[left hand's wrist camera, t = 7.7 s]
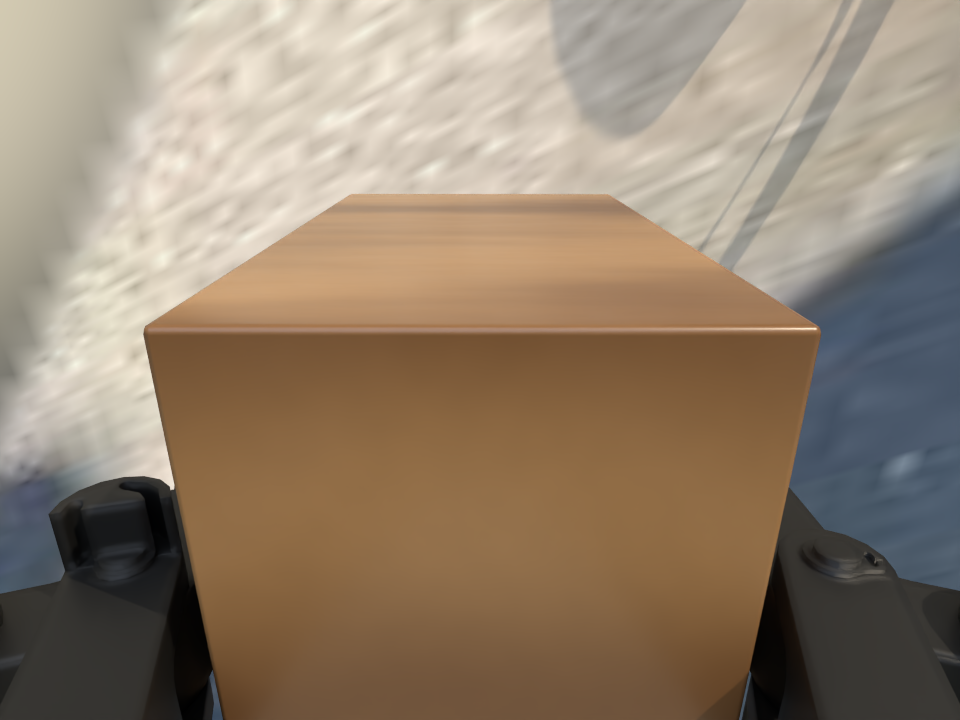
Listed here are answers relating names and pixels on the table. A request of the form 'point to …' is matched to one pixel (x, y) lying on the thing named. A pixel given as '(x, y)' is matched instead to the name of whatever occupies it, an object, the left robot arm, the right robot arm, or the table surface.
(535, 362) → the beam
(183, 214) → the table surface
